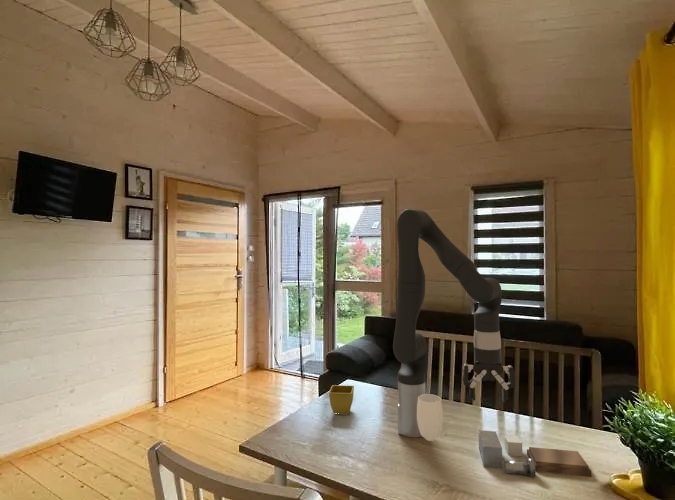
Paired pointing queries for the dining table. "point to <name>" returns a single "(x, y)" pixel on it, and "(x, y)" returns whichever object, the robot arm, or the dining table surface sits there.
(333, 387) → the flower pot
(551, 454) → the stand
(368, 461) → the dining table surface
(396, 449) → the dining table surface
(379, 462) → the dining table surface
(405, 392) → the robot arm
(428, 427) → the cup
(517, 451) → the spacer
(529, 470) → the bolt
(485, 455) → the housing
